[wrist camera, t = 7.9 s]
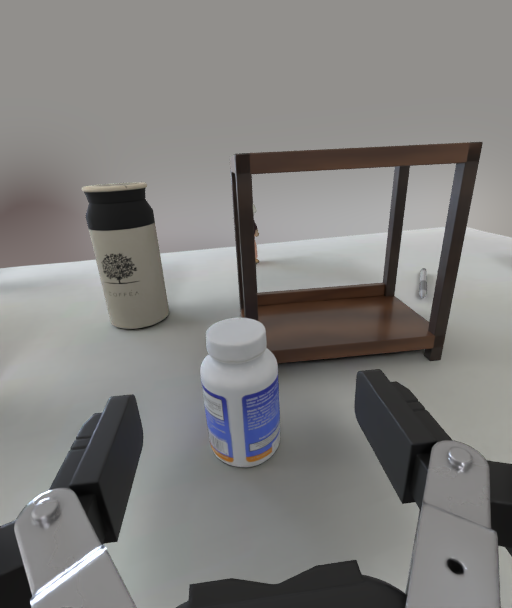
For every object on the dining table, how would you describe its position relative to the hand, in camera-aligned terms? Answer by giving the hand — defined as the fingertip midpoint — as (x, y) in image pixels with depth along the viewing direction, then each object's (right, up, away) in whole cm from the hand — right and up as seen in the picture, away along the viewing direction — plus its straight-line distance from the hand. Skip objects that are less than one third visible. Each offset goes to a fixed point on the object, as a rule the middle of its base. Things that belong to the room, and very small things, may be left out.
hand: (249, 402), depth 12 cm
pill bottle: (-1, -7, +14) cm, 16 cm away
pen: (+27, +6, +42) cm, 51 cm away
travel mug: (-16, +1, +36) cm, 40 cm away
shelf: (+9, -1, +28) cm, 29 cm away
